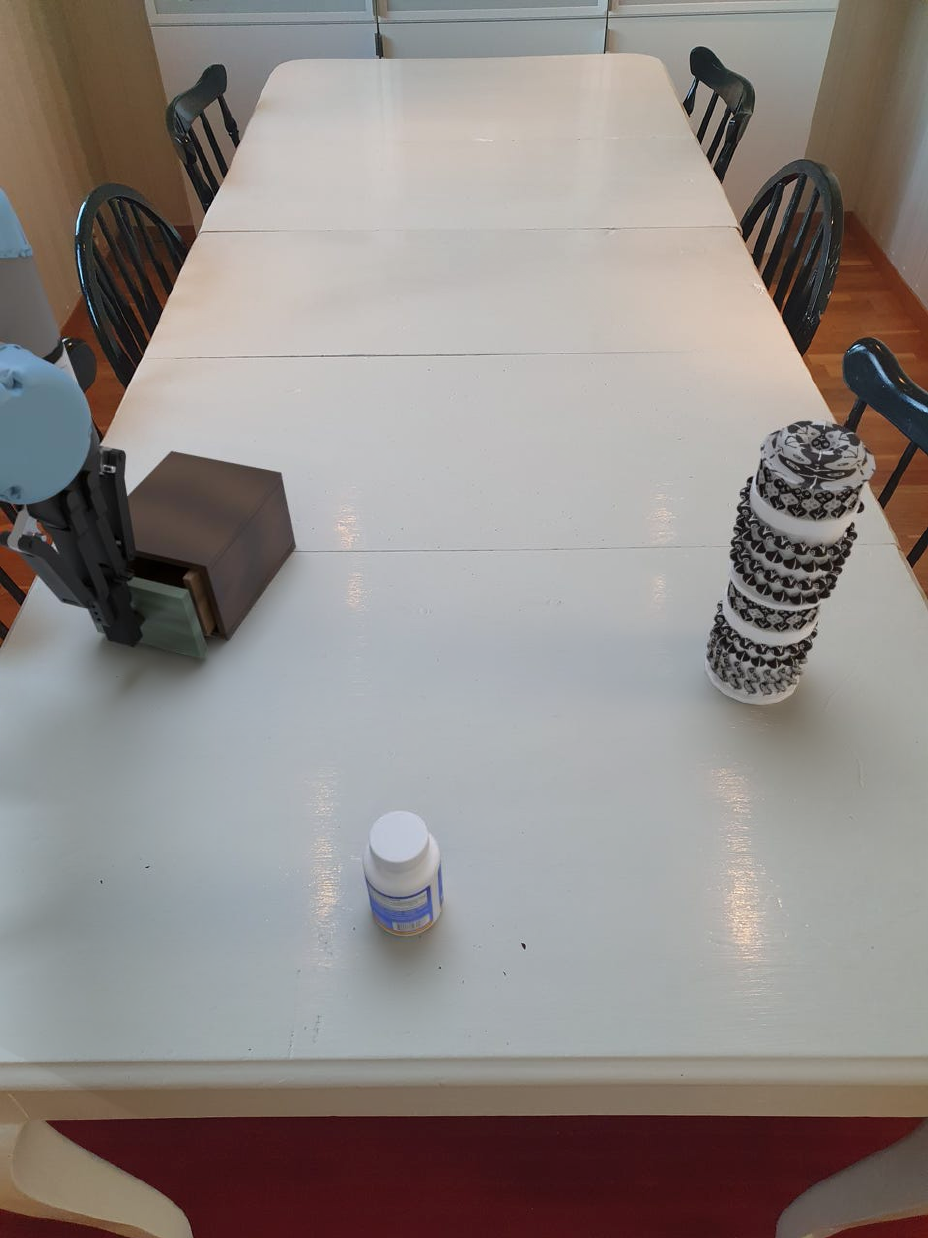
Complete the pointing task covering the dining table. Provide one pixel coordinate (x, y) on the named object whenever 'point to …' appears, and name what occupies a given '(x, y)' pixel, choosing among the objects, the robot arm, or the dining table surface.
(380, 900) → the pill bottle
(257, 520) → the cabinet
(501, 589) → the dining table surface
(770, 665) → the decorative candle
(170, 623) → the drawer
